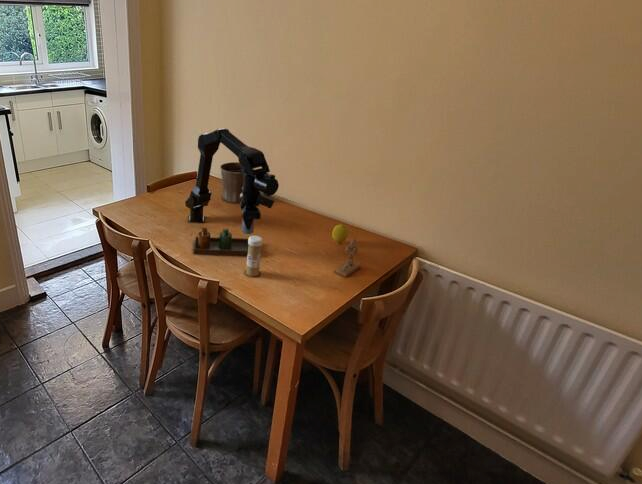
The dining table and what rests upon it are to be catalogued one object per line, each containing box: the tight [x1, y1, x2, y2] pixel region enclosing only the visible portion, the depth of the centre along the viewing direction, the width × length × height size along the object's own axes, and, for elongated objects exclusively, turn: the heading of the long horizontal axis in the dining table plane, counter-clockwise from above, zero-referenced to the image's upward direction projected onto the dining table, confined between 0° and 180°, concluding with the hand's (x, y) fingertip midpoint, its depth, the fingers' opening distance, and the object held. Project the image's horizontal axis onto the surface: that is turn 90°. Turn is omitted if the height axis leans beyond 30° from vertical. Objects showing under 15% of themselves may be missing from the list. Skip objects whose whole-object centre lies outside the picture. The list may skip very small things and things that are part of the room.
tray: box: [193, 236, 249, 257], centre depth 155 cm, size 10×23×2 cm, turn 85°
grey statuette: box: [335, 238, 360, 278], centre depth 139 cm, size 9×4×12 cm, turn 131°
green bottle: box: [218, 228, 233, 250], centre depth 154 cm, size 5×5×8 cm
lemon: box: [331, 223, 349, 244], centre depth 158 cm, size 6×6×8 cm
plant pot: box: [219, 161, 244, 204], centre depth 199 cm, size 16×16×16 cm
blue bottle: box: [241, 219, 256, 235], centre depth 150 cm, size 4×4×8 cm
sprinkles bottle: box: [245, 235, 263, 277], centre depth 137 cm, size 5×5×14 cm
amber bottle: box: [197, 227, 211, 249], centre depth 155 cm, size 5×5×8 cm
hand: (247, 226), depth 151 cm, fingers closed on blue bottle, 4 cm apart
